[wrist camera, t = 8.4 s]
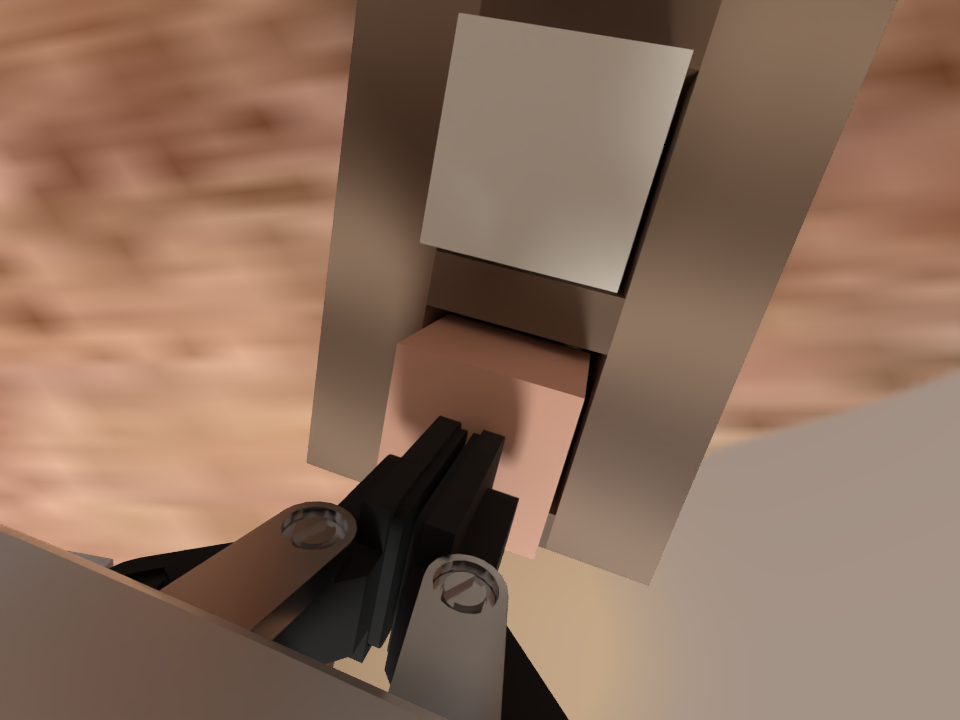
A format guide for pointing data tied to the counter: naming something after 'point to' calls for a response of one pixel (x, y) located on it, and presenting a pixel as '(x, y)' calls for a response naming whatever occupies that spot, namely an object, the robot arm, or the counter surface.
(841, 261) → the counter surface
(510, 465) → the key terracotta
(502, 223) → the key ivory
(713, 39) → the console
